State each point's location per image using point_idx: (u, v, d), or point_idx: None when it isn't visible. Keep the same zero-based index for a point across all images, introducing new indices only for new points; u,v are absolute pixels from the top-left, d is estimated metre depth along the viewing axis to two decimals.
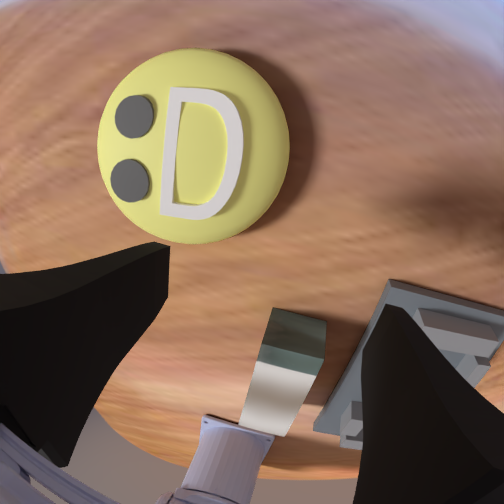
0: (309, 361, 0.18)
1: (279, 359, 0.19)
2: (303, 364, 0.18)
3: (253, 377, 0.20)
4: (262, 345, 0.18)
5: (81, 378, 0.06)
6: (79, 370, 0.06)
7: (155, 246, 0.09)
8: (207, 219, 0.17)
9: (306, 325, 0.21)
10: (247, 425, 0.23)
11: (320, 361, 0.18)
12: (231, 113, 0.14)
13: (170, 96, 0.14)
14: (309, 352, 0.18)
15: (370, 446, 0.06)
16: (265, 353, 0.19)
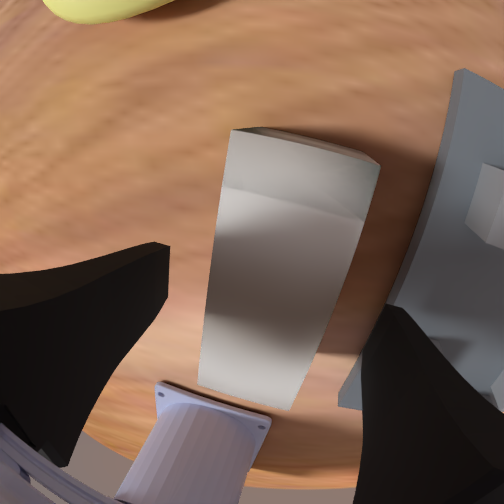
0: (346, 173, 0.08)
1: (274, 173, 0.08)
2: (331, 186, 0.08)
3: (216, 242, 0.09)
4: (233, 135, 0.08)
5: (81, 378, 0.06)
6: (79, 370, 0.06)
7: (155, 246, 0.09)
8: None
9: (327, 143, 0.10)
10: (214, 385, 0.12)
11: (372, 172, 0.07)
12: None
13: None
14: (343, 153, 0.08)
15: (370, 446, 0.06)
16: (240, 159, 0.08)
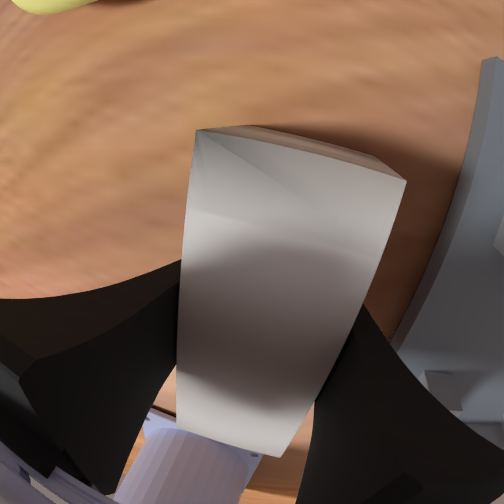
0: (358, 191, 0.05)
1: (256, 191, 0.06)
2: (336, 209, 0.06)
3: (183, 279, 0.07)
4: (199, 137, 0.06)
5: (133, 404, 0.06)
6: (132, 397, 0.06)
7: None
8: None
9: (330, 145, 0.08)
10: (195, 429, 0.10)
11: (394, 190, 0.05)
12: None
13: None
14: (353, 162, 0.05)
15: (316, 438, 0.07)
16: (208, 171, 0.06)
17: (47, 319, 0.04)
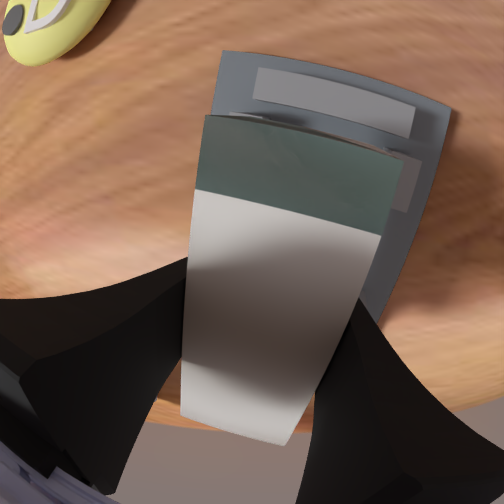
0: (359, 170, 0.06)
1: (262, 171, 0.06)
2: (339, 188, 0.06)
3: (191, 260, 0.07)
4: (208, 121, 0.06)
5: (133, 404, 0.06)
6: (132, 397, 0.06)
7: None
8: (53, 27, 0.12)
9: (330, 134, 0.08)
10: (199, 417, 0.10)
11: (393, 169, 0.05)
12: None
13: None
14: (353, 144, 0.06)
15: (316, 438, 0.07)
16: (217, 153, 0.06)
17: (47, 319, 0.04)
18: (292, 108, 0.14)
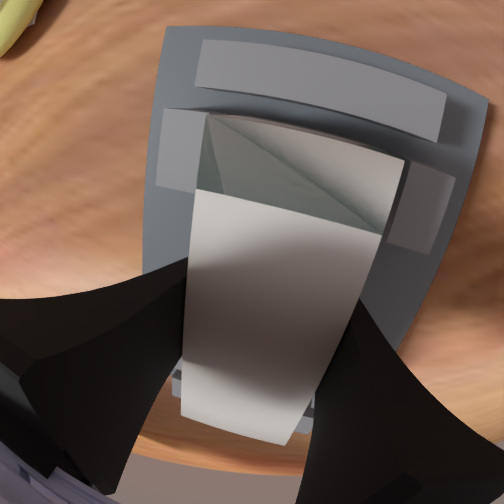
0: (359, 170, 0.06)
1: (263, 171, 0.06)
2: (340, 187, 0.06)
3: (192, 259, 0.07)
4: (209, 121, 0.06)
5: (133, 404, 0.06)
6: (132, 397, 0.06)
7: None
8: None
9: (331, 134, 0.08)
10: (200, 417, 0.10)
11: (393, 169, 0.05)
12: None
13: None
14: (354, 144, 0.06)
15: (316, 438, 0.07)
16: (218, 153, 0.06)
17: (47, 320, 0.04)
18: (261, 98, 0.09)
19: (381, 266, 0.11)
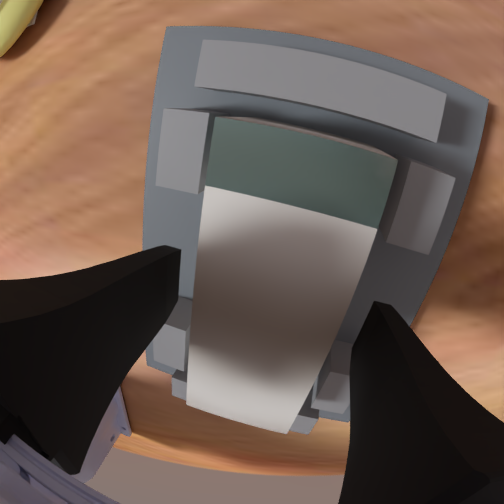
0: (356, 169, 0.06)
1: (268, 169, 0.06)
2: (338, 184, 0.06)
3: (200, 252, 0.08)
4: (217, 123, 0.06)
5: (94, 385, 0.06)
6: (92, 377, 0.06)
7: (166, 249, 0.09)
8: None
9: (331, 134, 0.08)
10: (204, 406, 0.10)
11: (388, 168, 0.06)
12: None
13: None
14: (352, 144, 0.06)
15: (356, 444, 0.06)
16: (226, 153, 0.07)
17: (9, 296, 0.04)
18: (261, 99, 0.09)
19: (381, 266, 0.11)
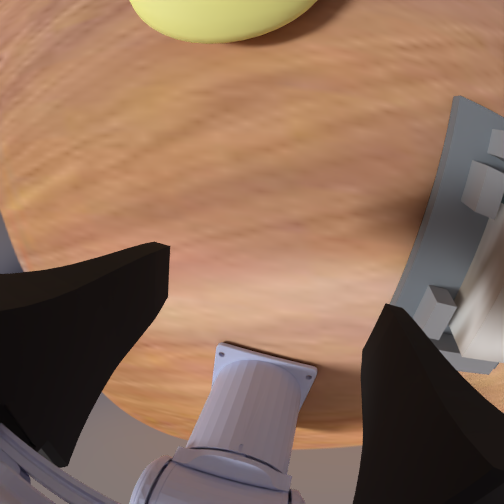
0: None
1: None
2: None
3: None
4: None
5: (81, 378, 0.06)
6: (79, 370, 0.06)
7: (155, 246, 0.09)
8: None
9: None
10: (473, 354, 0.13)
11: None
12: None
13: None
14: None
15: (370, 446, 0.06)
16: None
17: None
18: None
19: None
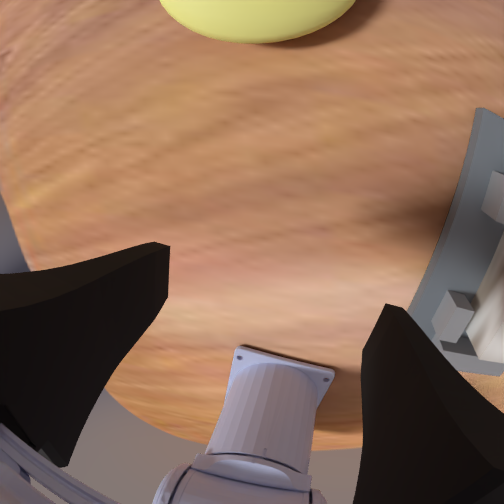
0: None
1: None
2: None
3: None
4: None
5: (81, 378, 0.06)
6: (79, 370, 0.06)
7: (155, 246, 0.09)
8: (287, 0, 0.11)
9: None
10: (489, 356, 0.13)
11: None
12: None
13: None
14: None
15: (370, 446, 0.06)
16: None
17: None
18: None
19: None
